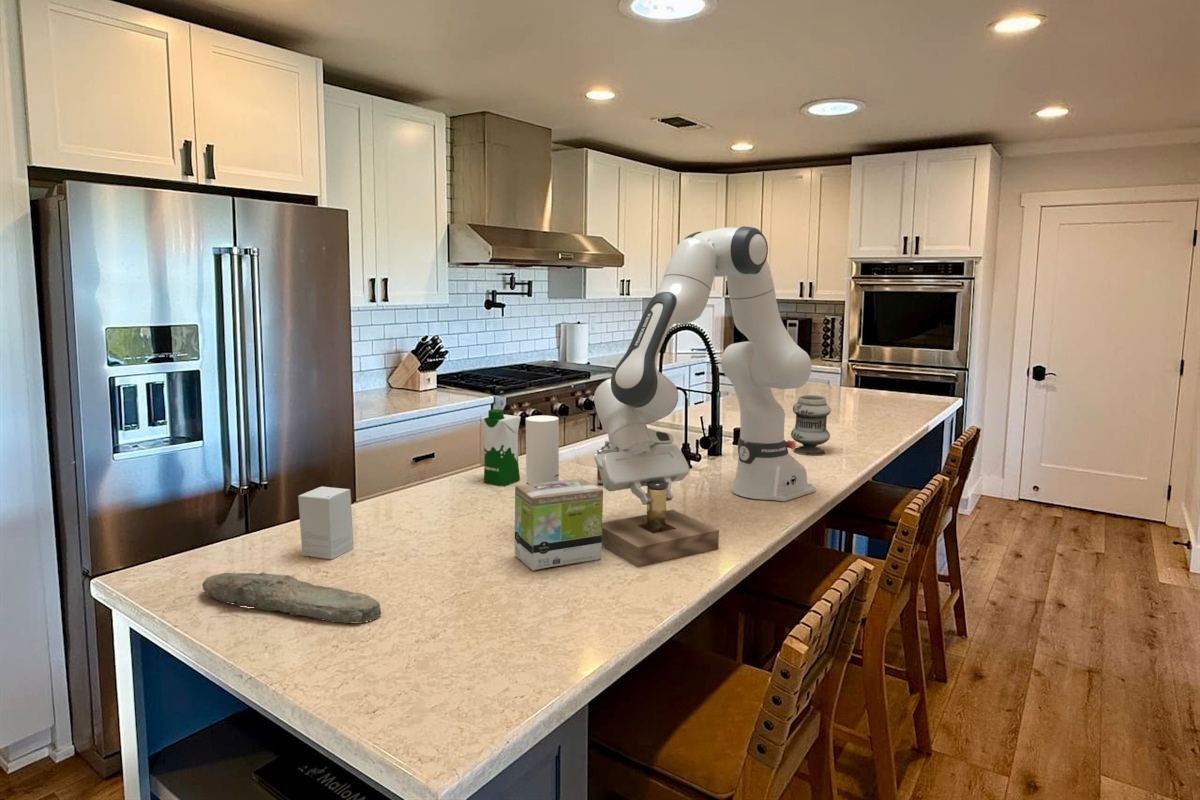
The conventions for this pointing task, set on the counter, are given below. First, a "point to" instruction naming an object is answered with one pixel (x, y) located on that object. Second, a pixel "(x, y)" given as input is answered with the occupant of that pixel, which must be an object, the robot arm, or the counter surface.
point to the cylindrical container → (542, 449)
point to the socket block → (658, 538)
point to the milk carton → (500, 447)
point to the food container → (607, 446)
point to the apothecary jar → (811, 424)
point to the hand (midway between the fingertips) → (658, 501)
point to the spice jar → (657, 504)
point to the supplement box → (326, 522)
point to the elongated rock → (291, 596)
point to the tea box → (558, 523)
